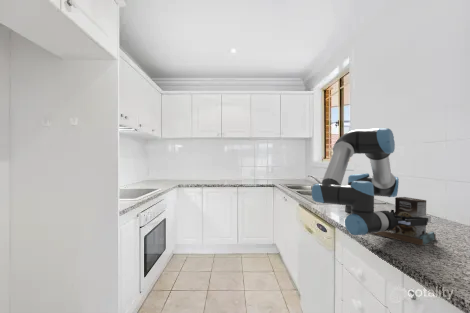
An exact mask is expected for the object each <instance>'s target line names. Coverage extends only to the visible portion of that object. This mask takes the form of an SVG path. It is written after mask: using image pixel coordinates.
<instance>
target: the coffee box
mask: <svg viewBox="0 0 470 313" xmlns="http://www.w3.org/2000/svg"><path fill="white" fill-rule="evenodd" d="M394 200H395V201H394V202H395V204H394V206H395V207H394V212H395V215H397V216H405V217H419V216H424V215H427V200H426V199H421V198H412V197H407V196H396V197H394ZM401 219H402V218H401ZM426 232H427V225H424V226H410V227H406V226H405V225H398V226H395V231H394V233H396V234H401V235H405V236H410V237H414V238H418V239H420V236H422V235H424V234H426Z"/></svg>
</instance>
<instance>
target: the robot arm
mask: <svg viewBox="0 0 470 313" xmlns="http://www.w3.org/2000/svg"><path fill="white" fill-rule="evenodd" d="M395 145H396V144H395V136H394V133H393V131H392V129H390V128H385V127H384V128H383V127H378V128H368V129H367V128H365V129H354V130H350V131H348V132H346V133H344V134H343V135H341V136H340V137H339V138H338V139H337V140H336V141H335V143H334V144H333V147H332V152H333V153H332V155H331V158H330V160H329V163H328V165H327V168H326V170H325V173H324V176H323V178H322V180H321V183H315V184H313V185H312V187H311V198H312V200H313V202H315V203H320V204H327V205H328V204H330V205H331V204H332V205H342V206H344V211H345V212H347V213H348V215H347V216H346V218H345V219H344V226H345V229H346V231H348V232H349V233H350V234H351V235H353V236H365V235H368V234H370V235H371V234H373V233H377V232H381V231H388V232H389V231H393V230H392V229H393V228H394V227H395V226H398V225H405V226H406V227H410V226H424V225H426V226H428V223H431V222H432V216H431V214H426V215H424V216H419V217H405V216H397V215H395V209H391V210H390V211H389V210H378V211H375V197H386V198H396V197H398V191H399V183H400V182H399V177H398V176H395V175H394V174H393V173H392V171H391V163H390V162H391V161H390V155H392V154H393V153H394V152H395V148H396V146H395ZM355 154H360V155H361V154H362V155H363V154H365V157H366V158H368V159H369V163H370V167H371V170H372V175H370V173H357V174H350V175H348V177H347V178H348V179H347V185H346V184H345V185H342V183H343V180H344V176H345V174H346V170H347V168H348V164H349V162H350V158H352V157H353V156H354V155H355ZM349 213H350V214H349ZM401 218H402V219H401Z"/></svg>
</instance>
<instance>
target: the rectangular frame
mask: <svg viewBox="0 0 470 313" xmlns="http://www.w3.org/2000/svg"><path fill="white" fill-rule="evenodd" d="M391 231H394V232H391ZM391 231H389V230H388V231H381V232H377V233H372V234H374V235H378V236H381V237H386V238H390V239H394V240H398V241H403V242H406V243H411V244H415V245H418V246H423V245H426V244H428V243H430V242H433V241H434V240H436V239H437V238H436V237H437V234H436V233H435V231H429V232H427V231H426V234H424V235H422V236H420V239H418V238H414V237H410V236H405V235H401V234H396V233H395V227H394V228H393V229H392V230H391Z"/></svg>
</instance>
